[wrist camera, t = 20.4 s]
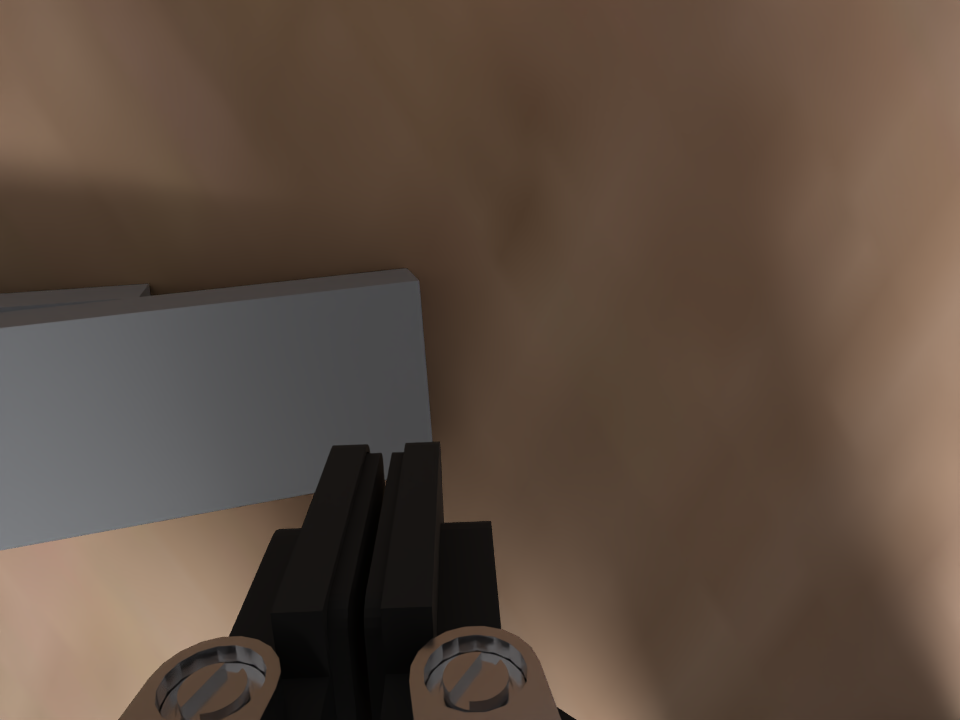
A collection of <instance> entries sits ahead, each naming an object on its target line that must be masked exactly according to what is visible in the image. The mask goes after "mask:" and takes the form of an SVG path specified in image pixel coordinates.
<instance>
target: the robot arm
mask: <svg viewBox="0 0 960 720" xmlns="http://www.w3.org/2000/svg"><path fill="white" fill-rule="evenodd" d="M118 720H576V719H574V718H573V717H571V716H570V715H568V714H567V713H565V712H564V711H562V710H561V709H559V708H558V707H556V704H555V701H554V698H553V696H552V693H551V690H550V688H549V685H548V682H547V679H546V677H545V674H544V671H543V668H542V666H541V663H540V661H539V659H538V657H537V656H536V654H535V652H534V651H533V649H532V647H530V646H529V645H528V644H527V643H526V642H524V641H523V640H522V639H521V638H520V637H518V636H516V635H514V634H512V633H509V632H507V631H505V630H503V629H501V623H500V612H499V601H498V591H497V580H496V569H495V558H494V547H493V536H492V526H491V521H479V522H453V523H444V515H443V493H442V470H441V449H440V442H416V443H405V448H404V452H392V454H391V460H390V465H389V470H388V476H387V481H386V487H385V477H384V464H383V456H382V453H370V448H369V445H368V444H359V445H333V446H332V448H331V450H330V453H329V456H328V458H327V461H326V464H325V466H324V469H323V472H322V474H321V477H320V480H319V483H318V485H317V488H316V491H315V493H314V496H313V499H312V501H311V504H310V507H309V509H308V512H307V515H306V518H305V520H304V523H303V526H302V528H297V529H279V530H276V531H275V533H274V535H273V536H272V538H271V541H270V543H269V545H268V548H267V550H266V552H265V555H264V557H263V559H262V562H261V564H260V566H259V568H258V571H257V573H256V575H255V578H254V580H253V582H252V585H251V587H250V589H249V592H248V594H247V596H246V598H245V601H244V603H243V605H242V608H241V610H240V612H239V615H238V617H237V619H236V622H235V624H234V626H233V628H232V631H231V633H230V635H229V637H220V638H216V639H212V640H207V641H203V642H200V643H198V644H196V645H193V646H191V647H189V648H187V649H184V650H182V651H180V652H179V653H177V654H176V655H174V656H173V657H172V658H170V659H169V660H167V661H166V662H164V663H163V664H162V665H161V666H160V667H159V668H158V669H157V670H156V671H155V672H154V673H153V674H152V675H151V677H150V678H149V679H148V680H147V681H146V683H145V684H144V686H143V687H142V688H141V690H140V691H139V692H138V694H137V695H136V696H135V698H134V699H133V700H132V702H131V703H130V704H129V706H128V707H127V709H126V710H125V711H124V713H123V714H122V715H121V717H120V718H119V719H118Z"/></svg>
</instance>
